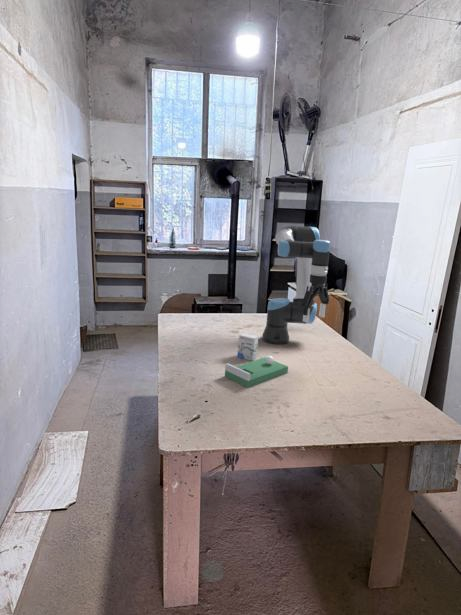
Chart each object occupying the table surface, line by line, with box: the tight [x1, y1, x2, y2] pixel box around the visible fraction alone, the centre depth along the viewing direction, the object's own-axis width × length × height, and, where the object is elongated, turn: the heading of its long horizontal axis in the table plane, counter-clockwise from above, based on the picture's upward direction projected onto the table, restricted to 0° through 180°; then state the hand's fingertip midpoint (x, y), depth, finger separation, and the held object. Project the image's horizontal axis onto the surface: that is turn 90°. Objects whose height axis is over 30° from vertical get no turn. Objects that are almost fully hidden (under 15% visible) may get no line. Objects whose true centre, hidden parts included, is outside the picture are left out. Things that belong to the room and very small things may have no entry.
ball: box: [265, 355, 275, 365], centre depth 193 cm, size 4×4×4 cm
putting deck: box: [224, 356, 289, 388], centre depth 188 cm, size 14×26×6 cm, turn 133°
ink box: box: [237, 332, 259, 362], centre depth 207 cm, size 9×5×12 cm, turn 62°
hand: (313, 319), depth 198 cm, fingers open, 13 cm apart
